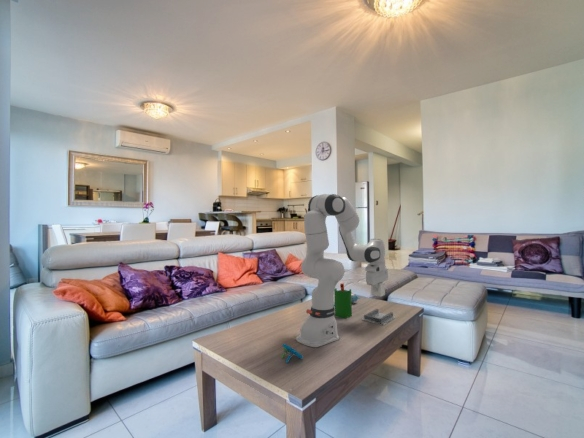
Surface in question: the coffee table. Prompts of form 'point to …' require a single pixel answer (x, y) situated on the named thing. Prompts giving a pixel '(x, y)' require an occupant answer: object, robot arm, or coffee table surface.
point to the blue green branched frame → (292, 351)
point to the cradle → (378, 317)
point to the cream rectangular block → (379, 289)
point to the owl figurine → (352, 297)
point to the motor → (343, 302)
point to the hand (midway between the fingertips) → (378, 290)
